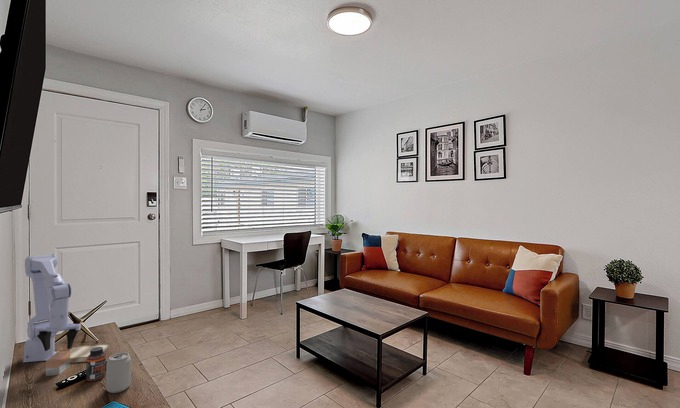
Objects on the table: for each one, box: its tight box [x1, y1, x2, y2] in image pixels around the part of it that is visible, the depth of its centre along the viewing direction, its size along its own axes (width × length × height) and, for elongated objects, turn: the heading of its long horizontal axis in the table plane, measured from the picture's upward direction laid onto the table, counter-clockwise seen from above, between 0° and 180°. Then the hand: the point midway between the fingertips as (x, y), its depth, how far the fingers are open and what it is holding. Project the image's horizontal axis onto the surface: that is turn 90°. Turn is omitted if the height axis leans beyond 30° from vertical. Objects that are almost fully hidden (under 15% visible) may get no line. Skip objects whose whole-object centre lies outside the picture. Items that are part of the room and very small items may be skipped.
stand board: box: [69, 343, 111, 364], centre depth 149 cm, size 14×14×2 cm
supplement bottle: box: [85, 347, 107, 382], centre depth 130 cm, size 6×6×11 cm
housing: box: [45, 350, 71, 377], centre depth 135 cm, size 4×8×6 cm, turn 15°
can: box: [105, 352, 132, 394], centre depth 123 cm, size 8×8×12 cm
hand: (58, 348), depth 135 cm, fingers open, 7 cm apart
